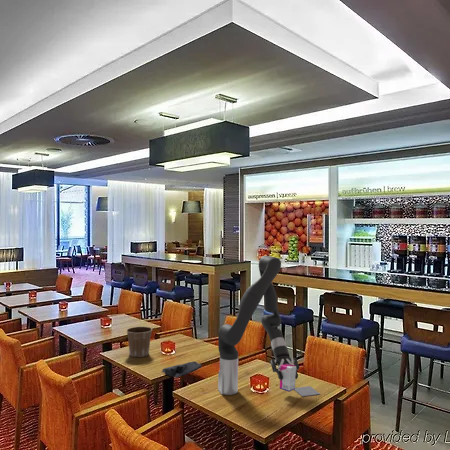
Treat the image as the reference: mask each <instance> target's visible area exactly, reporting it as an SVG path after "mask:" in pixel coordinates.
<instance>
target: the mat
mask: <svg viewBox="0 0 450 450" xmlns="http://www.w3.org/2000/svg"><path fill="white" fill-rule="evenodd" d="M293 391H294V392H295V393H297V394H298V395H300V396H301V397H303V398H305V397H311V396H313V397H314V396H319V395H320V396H321V393H320V392H318V391H317V390H316V389H314V388H313V387H312V386H310V385H308V386H301V387H295V389H294V390H293Z"/></svg>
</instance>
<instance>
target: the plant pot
mask: <svg viewBox="0 0 450 450" xmlns="http://www.w3.org/2000/svg"><path fill="white" fill-rule="evenodd" d="M125 331H126V333H127V339H128V340H127V341H128V350H129V351H128V352H129V356H130V357H131V358H136V357H137V358H145V357H147V356H149V354H150V347H151V346H150V344H151V336H152V331H153V328H152V327H149V326H133V327H130V328H126V330H125Z"/></svg>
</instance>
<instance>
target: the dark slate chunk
mask: <svg viewBox="0 0 450 450" xmlns="http://www.w3.org/2000/svg"><path fill="white" fill-rule="evenodd" d="M202 366H203V365H202V364H201V363H198V362H197V361H188V362H186V363H182V364H175V365H173V366H168V367H164V368H163V369H162V370H161V372H162V373H164V374H165V375H166V376H169V377H172V378H176V379H177V378H180V377H183V376H185V375H188V374H190V373H193V372H195V371H197V370H200V368H202Z"/></svg>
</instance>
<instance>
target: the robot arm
mask: <svg viewBox="0 0 450 450" xmlns="http://www.w3.org/2000/svg"><path fill="white" fill-rule="evenodd" d="M281 268H282V261H281V259H280V258H278V257H275V256H271V255H262V256H260V259H259V260H258V269H259V270H258V271H259V275H260V278H258V279H257V280H256V281H255V282H254V283H252V284H251V285H250V286H249V287H247V288H246V289H245V291H244V293H243V295H242V296H241V298H240V301H239V305H238V313H237V317H236V319H235V321H234V322H233V324H229V323H226V324H223V325H221V326H220V328H219V330H218V333H217V334H218V336H217V337H218V338H217V340H218V341H217V342H218V345H217V346H218V353H219V371H218V373H217V375H218V376H217V377H218V379H217V381H218V382H217V390H218V392H219V393H220V394H221V395H225V396H227V395H228V396H231V395H235V394H237V393H238V392H239V391H238V390H239V389H238V388H239V387H238V386H239V350H237V347H236V346H237V345H238V344H239V343H240V342H241V340H242V338H243V336H244V334H245V331H246V329H247V326H248V324H249V322H250V321H251V319H252V317H253V315H254V313H255V311H256V310H257V308H258V306H259V305H260V303H261V301H262V299H263V306H264V307H263V308H264V310H265V312H268V313H269V312H271V313H272V314H264V315H263V316H262V317H261V321H260V322H261V326H263V327H262V328H264V330H265V332H266V333H267V335H268V337H269V340H270V343H271V344H270V346H271V349H272V353H273V355H274V358H275V359H274V358H272V359H270V366H271V368H272V369H271V370H272V372H273V373H277V374H276V375H277V376H278V377H277V378H278V379H279V381H280V380H282V379H283V376H282V373H281V371H280V370H281V365H284V364H291V365H294V366H296V379H295V380H297V379H298V378H299V373H298V370H299V369H300V365H299V361H298V359H297V357H294V358H291V357H290V352H289V349H288V346H287V343H286V340H285V339H284V335H283V332H282V330H281V329H280V328H278V327H280V326H281V325H282V318H281V315H280V312H279V310H278V297H277V292H276V290H275V287H274V285H273V283H272V282H273V281H274V280H275V278H276V277H277V275H278V274H279V272H280V270H281Z"/></svg>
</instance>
